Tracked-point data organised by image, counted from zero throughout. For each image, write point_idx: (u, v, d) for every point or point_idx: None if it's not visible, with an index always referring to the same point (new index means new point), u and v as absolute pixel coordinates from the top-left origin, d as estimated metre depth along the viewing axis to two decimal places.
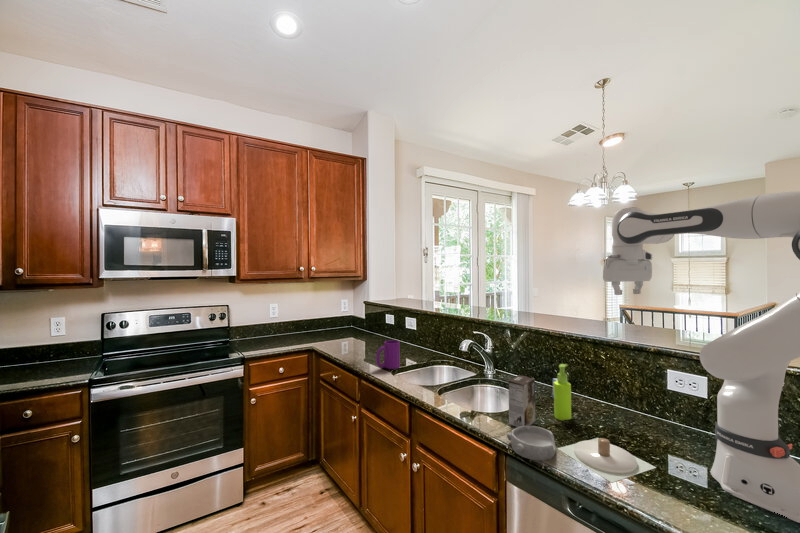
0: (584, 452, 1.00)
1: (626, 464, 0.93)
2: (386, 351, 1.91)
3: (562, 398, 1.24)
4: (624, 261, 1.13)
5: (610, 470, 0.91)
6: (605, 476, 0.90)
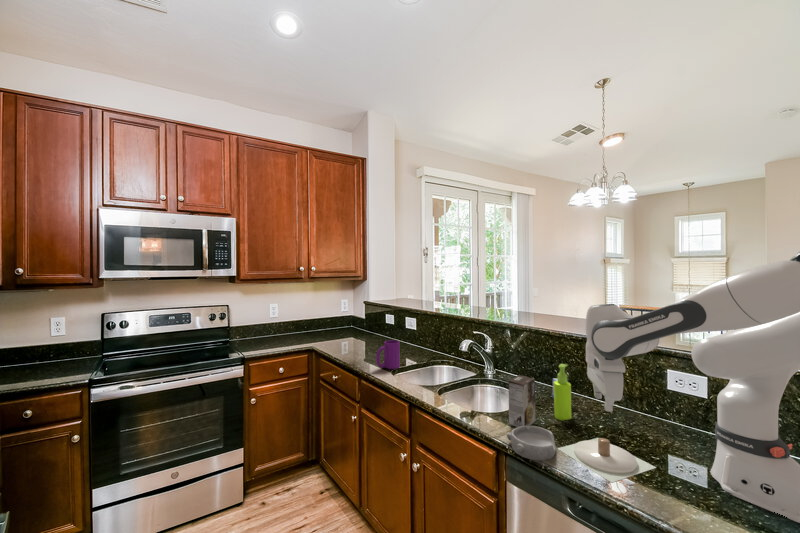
0: (584, 452, 1.00)
1: (626, 464, 0.93)
2: (386, 351, 1.91)
3: (562, 398, 1.24)
4: None
5: (610, 470, 0.91)
6: (605, 476, 0.90)
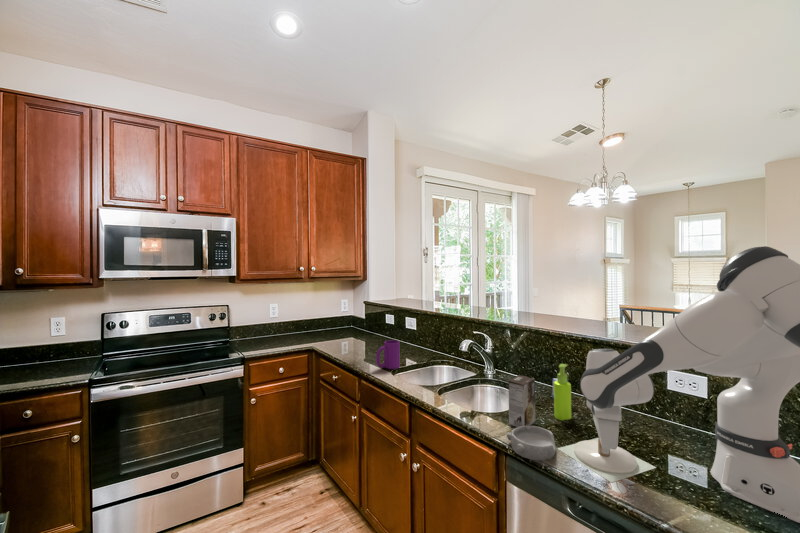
0: (584, 452, 1.00)
1: (626, 464, 0.93)
2: (386, 351, 1.91)
3: (562, 398, 1.24)
4: None
5: (611, 470, 0.91)
6: (605, 476, 0.90)
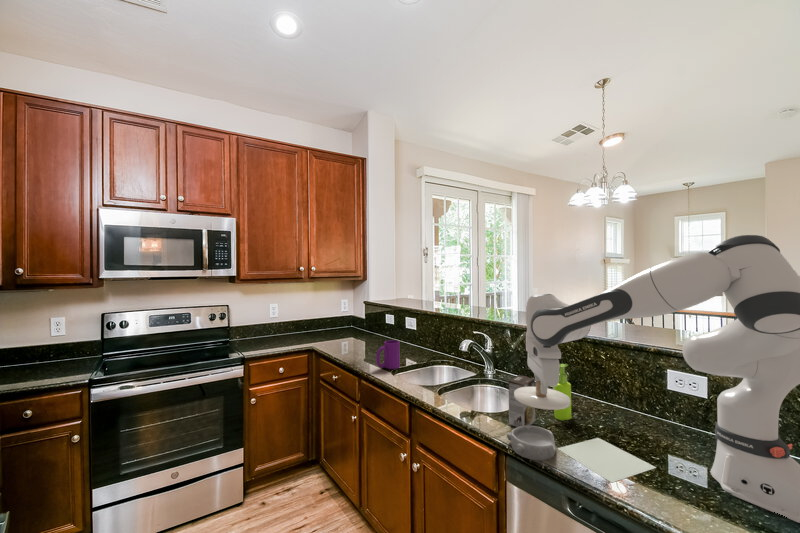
0: (524, 396, 1.02)
1: (562, 400, 0.98)
2: (386, 351, 1.91)
3: None
4: None
5: (551, 407, 0.94)
6: (605, 476, 0.90)
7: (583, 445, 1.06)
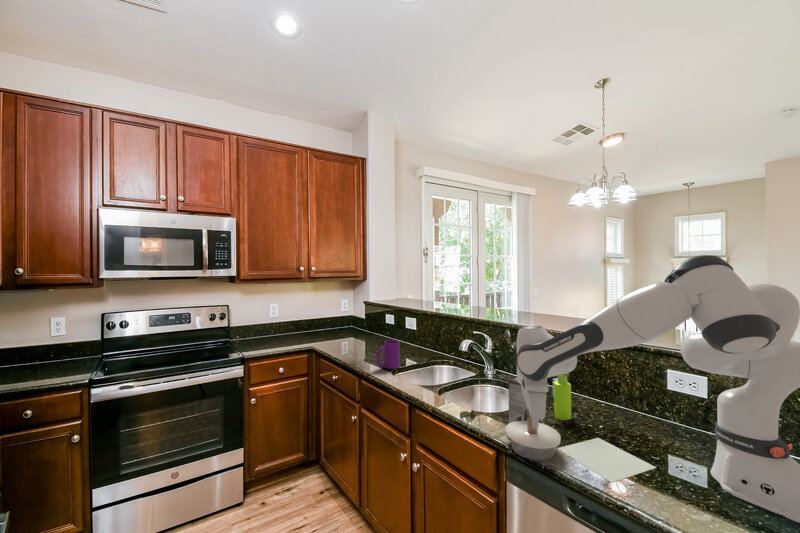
0: (515, 432, 1.04)
1: (552, 439, 1.00)
2: (386, 351, 1.91)
3: (562, 398, 1.24)
4: None
5: (539, 446, 0.96)
6: (605, 476, 0.90)
7: (583, 445, 1.06)
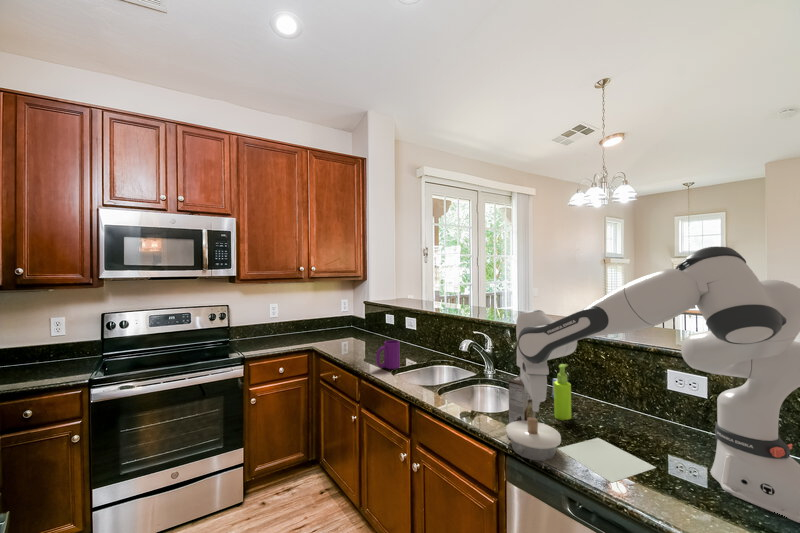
0: (515, 432, 1.04)
1: (552, 439, 1.00)
2: (386, 351, 1.91)
3: (562, 398, 1.24)
4: None
5: (539, 446, 0.96)
6: (605, 476, 0.90)
7: (583, 445, 1.06)
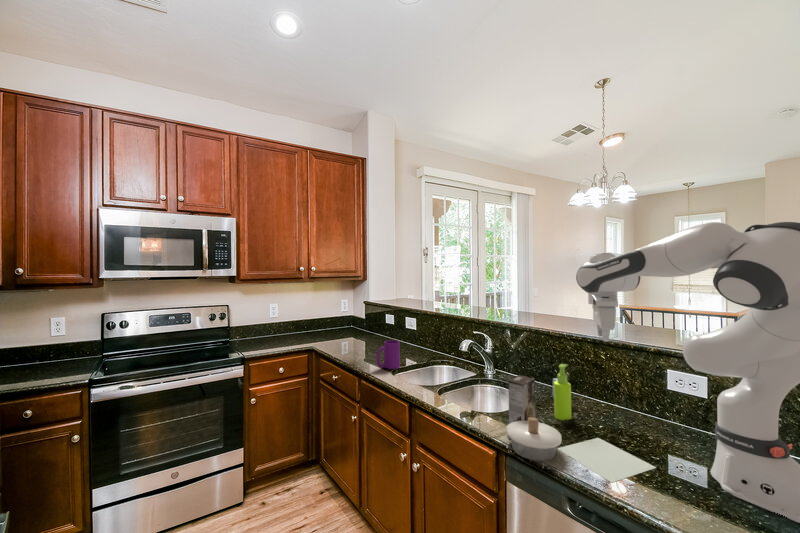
0: (516, 432, 1.04)
1: (553, 439, 1.00)
2: (386, 351, 1.91)
3: (562, 398, 1.24)
4: None
5: (540, 446, 0.96)
6: (605, 476, 0.90)
7: (583, 445, 1.06)
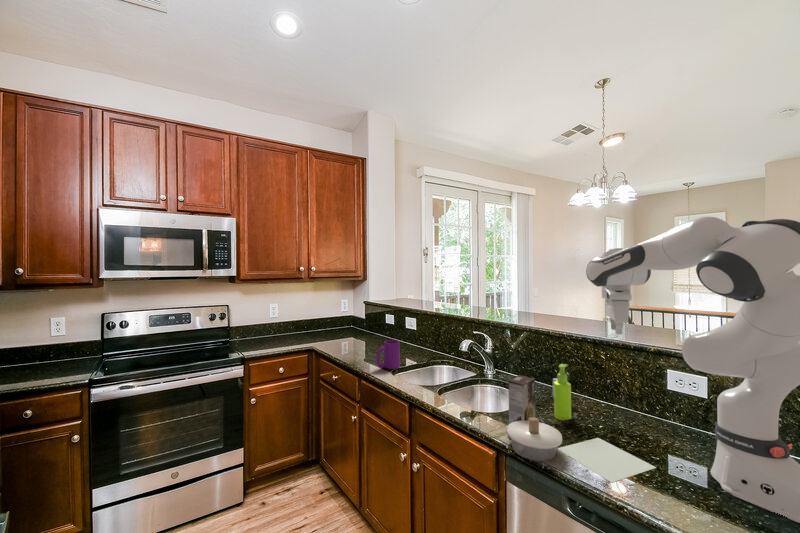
0: (517, 432, 1.04)
1: (553, 439, 0.99)
2: (386, 351, 1.91)
3: (562, 398, 1.24)
4: None
5: (540, 446, 0.96)
6: (605, 476, 0.90)
7: (583, 445, 1.06)
